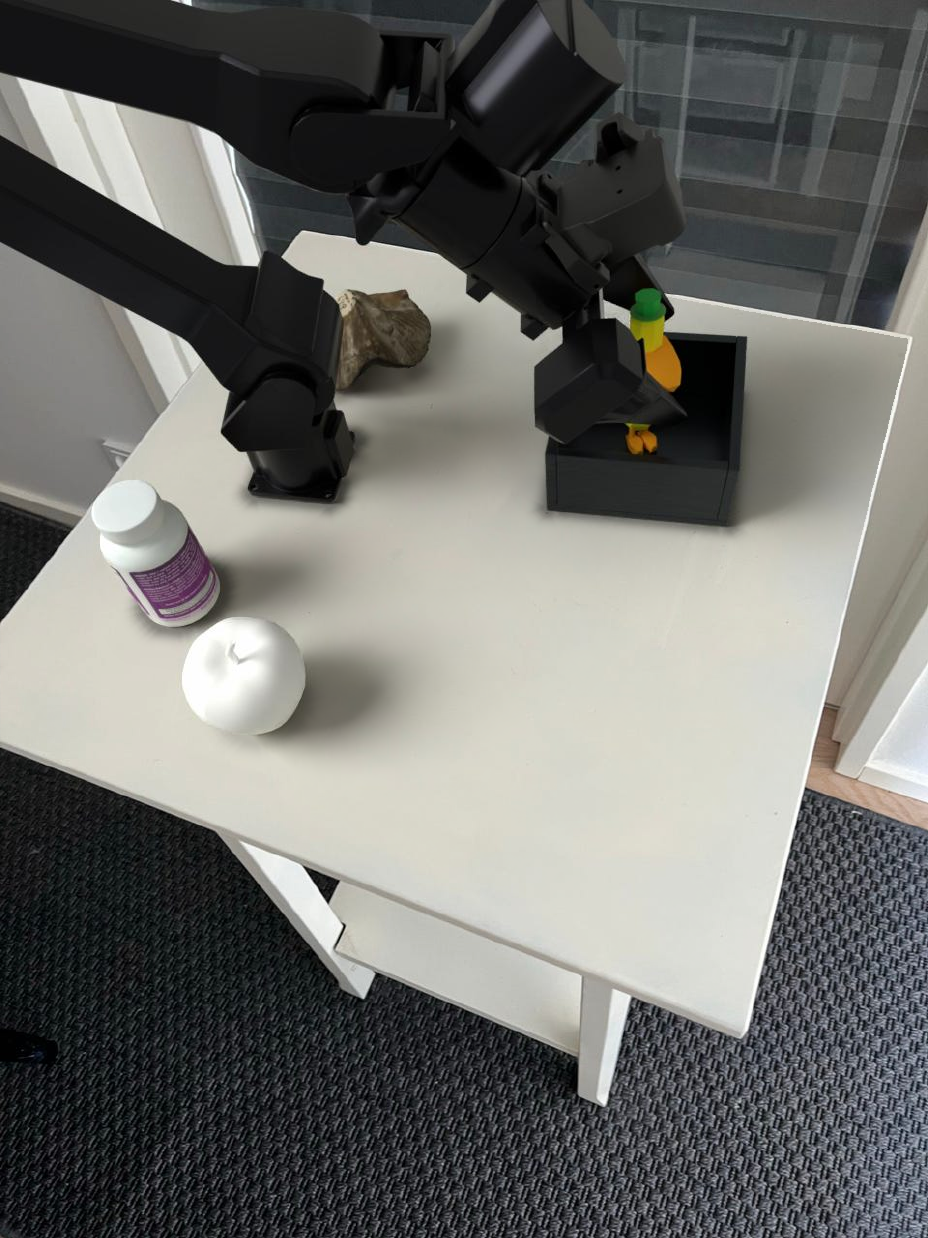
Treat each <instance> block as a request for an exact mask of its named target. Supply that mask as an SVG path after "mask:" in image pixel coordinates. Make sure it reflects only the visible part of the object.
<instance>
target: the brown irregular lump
mask: <svg viewBox="0 0 928 1238" xmlns="http://www.w3.org/2000/svg"><path fill="white" fill-rule="evenodd" d="M335 300H336V301H337V303H338V304H339V305H340V311H341V314H342V317H343V321H344V329H343V338H342V345H341V353H340V360H339V367H338V375H337V382H336V390H335V392H343V391H345V390H347V389H349V388H351V387H353V386H354V384H355V383H357V382H358V381H359V380H360V378H361V377H362V376H363V375H364V374H366V372H368V370H370V369H371V368H373V367H377V366H379V367H383V368H387V369H388V368H389V369H397V370H398V369H399V370H400V369H413V368H415V367H417V365H418V364H419V363H421V362H422V360H423V359H425V357H426V356H427V354H428V352H429V350H430V348H429V346H430V343H431V338H432V325H431V321H430V318H429V317H428V316H427V315H426V314H425V313H424V311H423V310H422V309H421V308H420V307H419V305H418V304H417V303H416V302H414V301H413V300H412V299H411V298H410V295H409V293H408V291H407V289H398V290H394V291H389V292H375V293H371V294H367V293H366V292H363V291H360V290H357V289H350V288H346V289H344V290H343V291H342V292H341V293H339V294H338V295H337V297H336V298H335Z"/></svg>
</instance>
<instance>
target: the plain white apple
mask: <svg viewBox="0 0 928 1238" xmlns="http://www.w3.org/2000/svg"><path fill="white" fill-rule="evenodd" d="M181 674H182V676H181V677H182V679H181V680H182V681H181V684H182V689H183V693H184V696H185V699H186V701H187V703H188V704H189V707H190V708H191V710H192V711H193V713H194V714H196V716H197V717H198V718H199V719H200V720H201V721H203V722H204V723H206V724H208V725H209V726H211V727H212V728H215V729H217V730H220V731H223V732H225V733H229V734H234V735H242V736H243V735H245V736H255V735H256V736H257V735H262V734H266V733H270V732H274V731H276V730H277V729H279V728H281V727H282V726H283V725H285V724H286V723H287V722H288V720H289V719H290V718H291V717H292V716H293V714H294V712H295V711H296V709H297V707H298V705H299V703H300V701H301V699H302V696H303V693H304V690H305V687H306V667H305V661H304V657H303V654H302V651H301V649H300V647H299V645H298V644H297V642H296V639H294V637H293V636H292V635H291V634H290V633H289V632H288V631H287V630H286V629H285V628H284V627H283V626H281V625H280V624H278V623H277V622H275V621H272V620H269V619H265V618H261V617H254V616H253V617H252V616H233V617H227V618H224V619H222V620H220V621H217V622H216V623H215V624H214V625H212V626H211V627H210V628H208V629H207V630H205V631H204V632H202V633H201V634H200V635H199V636H198V637H197V638H196V639H195V640H194V641H193V643H192V645H191V646H190V649H189V650H188V653H187V656H186V658H185V662H184V665H183V669H182V673H181Z"/></svg>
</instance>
